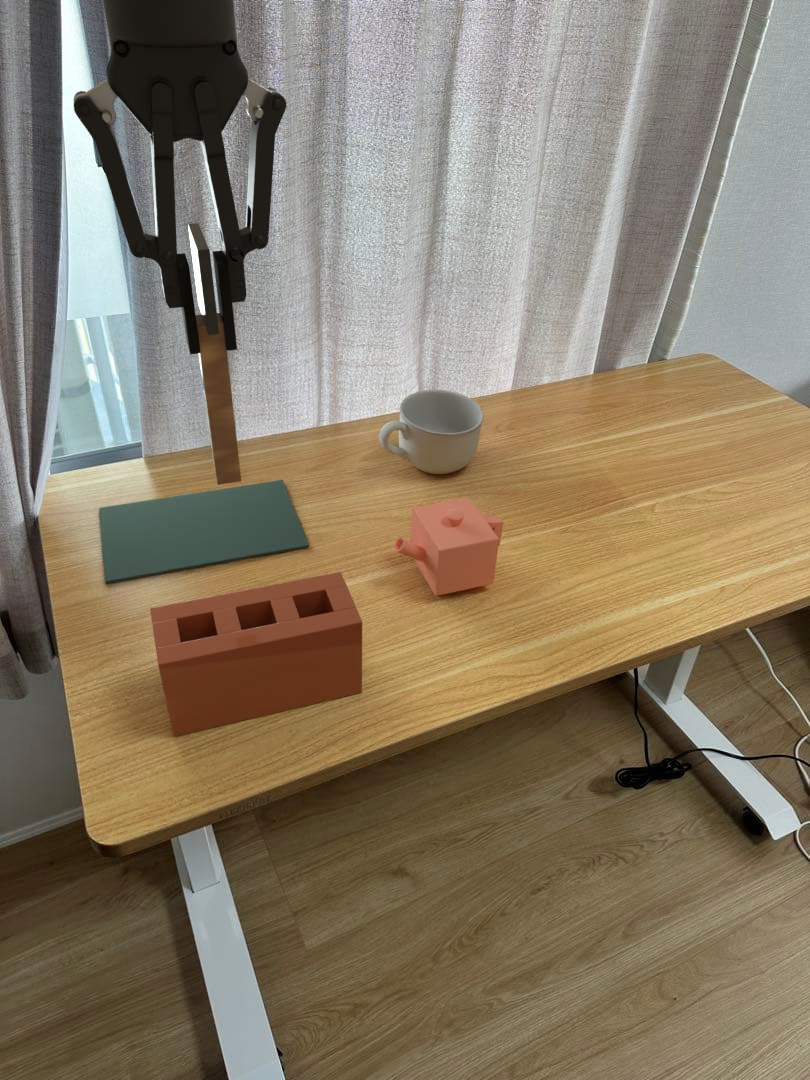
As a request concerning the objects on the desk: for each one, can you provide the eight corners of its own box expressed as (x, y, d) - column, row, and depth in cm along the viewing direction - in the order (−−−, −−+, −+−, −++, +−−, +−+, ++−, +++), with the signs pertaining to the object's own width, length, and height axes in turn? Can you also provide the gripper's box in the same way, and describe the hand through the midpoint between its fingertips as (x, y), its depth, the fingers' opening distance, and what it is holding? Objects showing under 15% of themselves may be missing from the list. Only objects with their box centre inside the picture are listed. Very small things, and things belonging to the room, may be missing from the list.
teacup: (460, 437, 112) (465, 384, 107) (491, 478, 104) (497, 423, 99) (364, 450, 108) (364, 397, 103) (388, 494, 100) (389, 438, 95)
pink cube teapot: (381, 564, 89) (383, 503, 84) (480, 544, 93) (487, 484, 88) (405, 609, 84) (408, 547, 79) (509, 587, 87) (519, 525, 82)
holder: (362, 692, 74) (362, 621, 69) (173, 737, 70) (158, 664, 64) (341, 641, 80) (340, 571, 74) (165, 679, 75) (150, 607, 69)
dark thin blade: (220, 498, 66) (188, 250, 53) (211, 460, 70) (179, 224, 58) (245, 494, 66) (218, 248, 54) (234, 457, 71) (207, 222, 58)
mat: (105, 584, 85) (105, 581, 85) (99, 510, 95) (99, 507, 95) (309, 547, 91) (309, 545, 91) (282, 482, 102) (282, 479, 101)
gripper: (280, -39, 51) (299, 316, 66) (27, -45, 47) (105, 334, 62) (306, -32, 46) (320, 355, 60) (21, -38, 42) (109, 377, 56)
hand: (211, 344), depth 61 cm, fingers closed on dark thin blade, 2 cm apart
